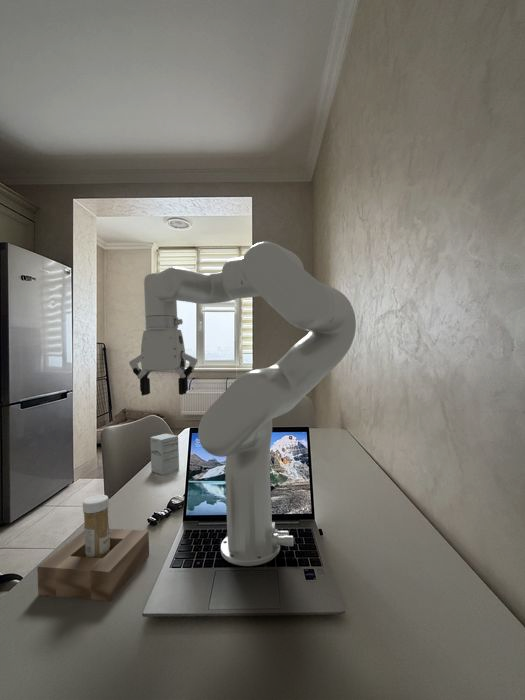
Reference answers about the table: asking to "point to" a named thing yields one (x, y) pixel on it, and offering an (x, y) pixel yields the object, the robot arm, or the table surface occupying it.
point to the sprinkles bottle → (96, 526)
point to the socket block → (93, 567)
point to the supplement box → (164, 454)
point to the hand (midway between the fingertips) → (164, 394)
